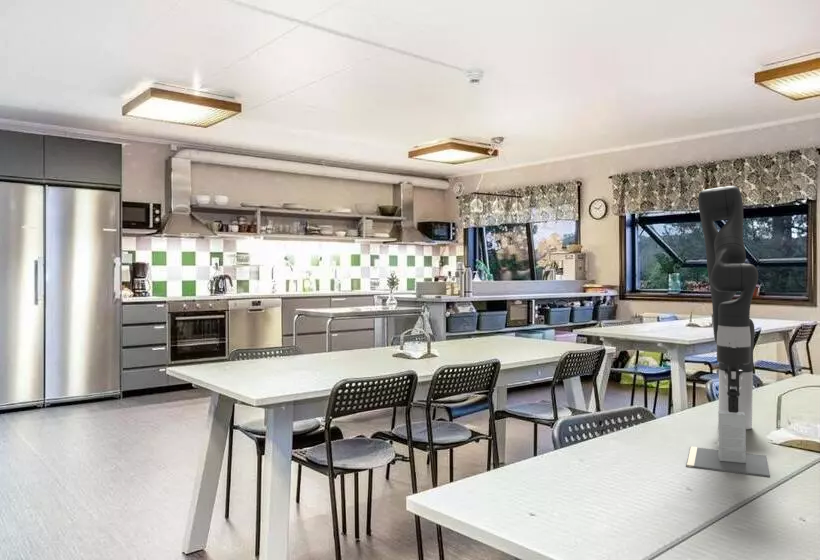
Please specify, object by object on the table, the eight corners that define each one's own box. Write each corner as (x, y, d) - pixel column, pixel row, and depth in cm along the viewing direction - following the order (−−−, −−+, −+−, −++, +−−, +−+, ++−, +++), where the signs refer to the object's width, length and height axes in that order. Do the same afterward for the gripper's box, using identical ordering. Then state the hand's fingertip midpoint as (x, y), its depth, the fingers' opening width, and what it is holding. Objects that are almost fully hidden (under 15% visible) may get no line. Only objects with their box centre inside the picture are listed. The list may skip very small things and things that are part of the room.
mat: (690, 448, 175) (690, 446, 175) (766, 456, 168) (766, 454, 167) (685, 466, 159) (685, 464, 159) (770, 477, 151) (770, 474, 151)
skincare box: (744, 459, 164) (744, 411, 164) (745, 463, 160) (746, 415, 160) (717, 456, 166) (718, 409, 166) (718, 461, 162) (719, 413, 162)
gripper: (717, 339, 170) (716, 401, 171) (716, 346, 157) (716, 413, 158) (749, 341, 167) (749, 404, 167) (751, 348, 154) (751, 416, 155)
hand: (733, 408), depth 163 cm, fingers open, 8 cm apart
